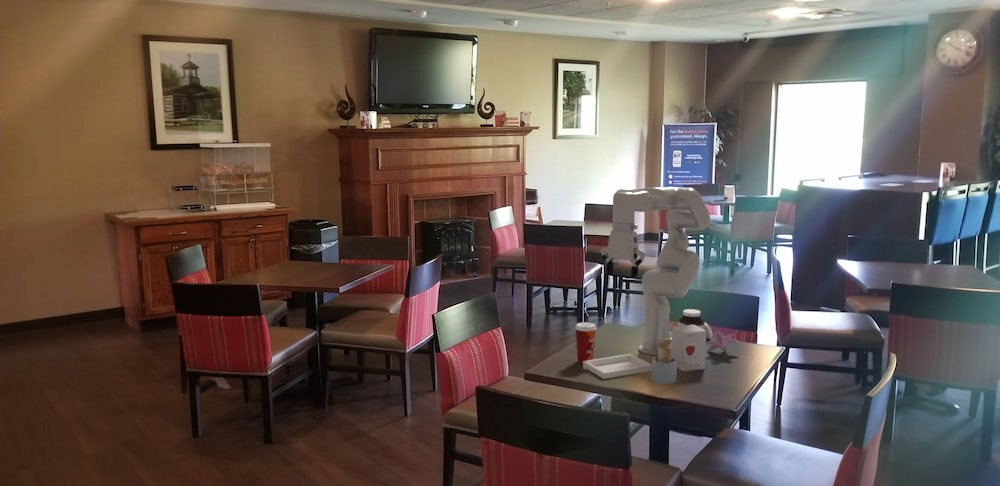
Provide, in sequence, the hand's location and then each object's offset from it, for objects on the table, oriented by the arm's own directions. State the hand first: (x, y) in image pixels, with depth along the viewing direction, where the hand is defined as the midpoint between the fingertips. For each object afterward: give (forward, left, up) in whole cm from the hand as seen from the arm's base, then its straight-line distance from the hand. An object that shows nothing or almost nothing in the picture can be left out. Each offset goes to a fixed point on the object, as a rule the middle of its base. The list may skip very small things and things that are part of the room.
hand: (621, 275), depth 257 cm
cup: (-4, +20, -33) cm, 39 cm away
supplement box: (-20, +12, -34) cm, 41 cm away
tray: (+4, +4, -33) cm, 34 cm away
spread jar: (-47, -17, -34) cm, 60 cm away
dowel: (-4, +20, -32) cm, 38 cm away
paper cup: (+9, -10, -34) cm, 36 cm away
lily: (-42, +4, -34) cm, 54 cm away
